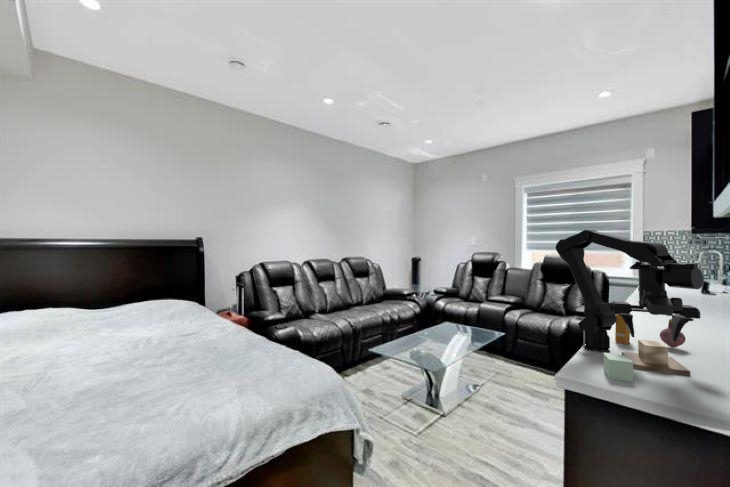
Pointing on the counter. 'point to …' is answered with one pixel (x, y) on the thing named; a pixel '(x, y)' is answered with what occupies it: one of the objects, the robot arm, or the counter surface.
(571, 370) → the counter surface
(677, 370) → the walnut baseboard
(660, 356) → the beech brick
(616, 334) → the supplement box
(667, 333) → the vegetable
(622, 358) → the sage green brick
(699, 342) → the counter surface
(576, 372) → the counter surface
